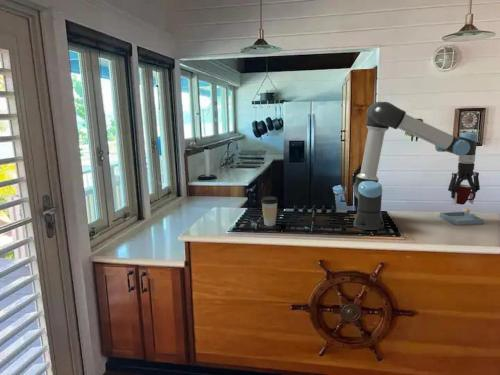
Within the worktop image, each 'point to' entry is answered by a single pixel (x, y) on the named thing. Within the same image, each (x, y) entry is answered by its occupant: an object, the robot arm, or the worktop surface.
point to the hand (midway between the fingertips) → (462, 203)
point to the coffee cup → (269, 210)
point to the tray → (461, 218)
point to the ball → (466, 210)
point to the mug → (464, 194)
